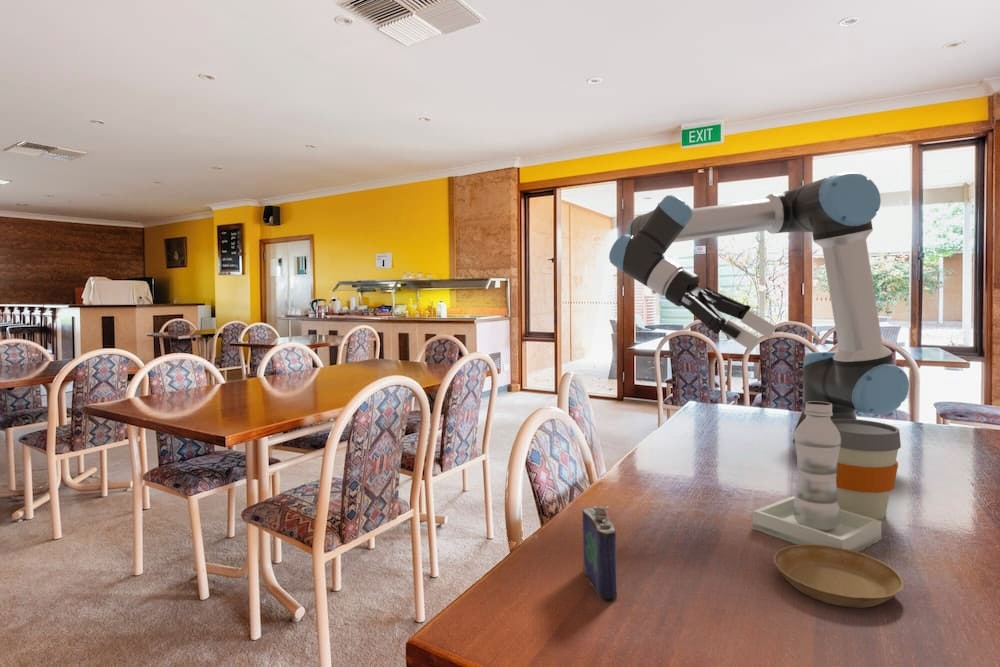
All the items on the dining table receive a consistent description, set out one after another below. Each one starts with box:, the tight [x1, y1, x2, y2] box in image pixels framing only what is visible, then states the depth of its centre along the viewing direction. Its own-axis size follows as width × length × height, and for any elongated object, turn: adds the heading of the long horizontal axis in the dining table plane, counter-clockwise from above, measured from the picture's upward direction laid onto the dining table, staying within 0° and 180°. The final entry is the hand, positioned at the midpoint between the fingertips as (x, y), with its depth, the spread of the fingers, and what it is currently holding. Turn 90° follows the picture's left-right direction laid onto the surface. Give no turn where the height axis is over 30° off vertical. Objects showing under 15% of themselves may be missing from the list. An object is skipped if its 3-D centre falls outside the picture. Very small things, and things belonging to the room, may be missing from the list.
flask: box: [582, 505, 618, 603], centre depth 78 cm, size 9×3×11 cm, turn 8°
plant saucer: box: [773, 544, 904, 609], centre depth 78 cm, size 15×15×3 cm
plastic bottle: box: [793, 401, 841, 531], centre depth 93 cm, size 6×7×20 cm
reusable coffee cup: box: [831, 419, 902, 520], centre depth 103 cm, size 13×13×15 cm
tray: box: [752, 495, 883, 553], centre depth 94 cm, size 12×14×3 cm
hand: (764, 338), depth 116 cm, fingers open, 13 cm apart
